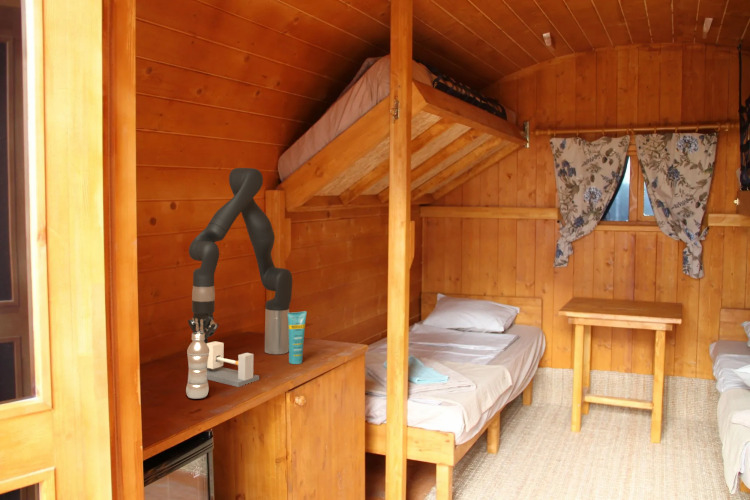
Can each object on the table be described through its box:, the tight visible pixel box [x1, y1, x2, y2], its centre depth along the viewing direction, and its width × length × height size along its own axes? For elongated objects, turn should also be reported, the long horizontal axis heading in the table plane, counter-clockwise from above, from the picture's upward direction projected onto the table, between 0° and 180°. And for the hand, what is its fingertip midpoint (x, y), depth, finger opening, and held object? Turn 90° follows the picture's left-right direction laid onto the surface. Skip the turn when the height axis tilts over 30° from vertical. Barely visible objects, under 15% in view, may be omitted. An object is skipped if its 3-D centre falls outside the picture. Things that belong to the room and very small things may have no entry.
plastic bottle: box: [185, 332, 210, 400], centre depth 203 cm, size 6×7×20 cm
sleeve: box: [206, 341, 225, 369], centre depth 228 cm, size 5×4×8 cm
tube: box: [288, 310, 308, 365], centre depth 247 cm, size 7×5×19 cm, turn 123°
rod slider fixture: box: [207, 352, 260, 388], centre depth 225 cm, size 10×22×10 cm, turn 59°
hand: (202, 348), depth 230 cm, fingers closed
